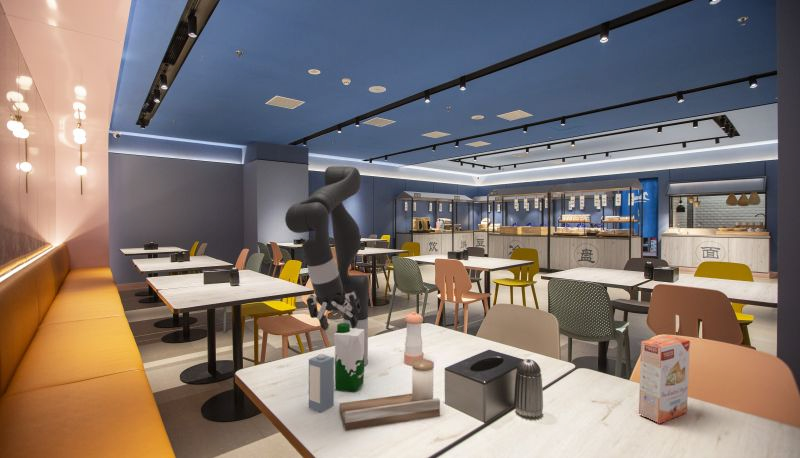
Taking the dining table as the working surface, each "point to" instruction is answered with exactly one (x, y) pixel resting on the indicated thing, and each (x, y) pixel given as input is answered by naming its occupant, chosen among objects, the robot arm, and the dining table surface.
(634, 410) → the dining table surface
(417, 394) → the jar
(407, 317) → the salt shaker
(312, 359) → the tea tin
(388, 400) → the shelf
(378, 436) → the dining table surface
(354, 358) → the milk carton
